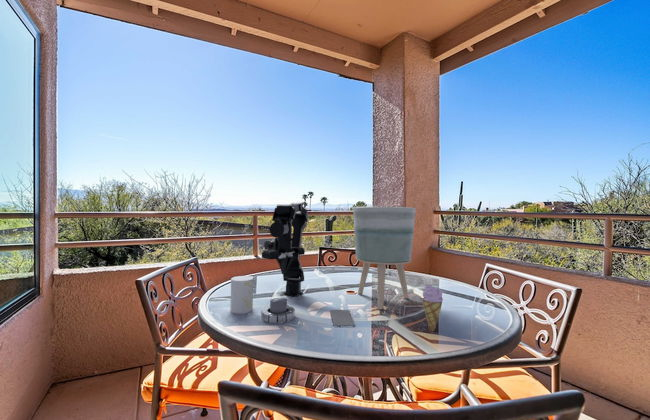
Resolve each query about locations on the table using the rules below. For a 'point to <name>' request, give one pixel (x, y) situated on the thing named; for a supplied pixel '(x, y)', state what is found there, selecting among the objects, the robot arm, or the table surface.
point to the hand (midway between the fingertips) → (283, 274)
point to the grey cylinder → (241, 294)
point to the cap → (278, 305)
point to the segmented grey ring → (277, 315)
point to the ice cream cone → (432, 305)
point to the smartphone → (341, 318)
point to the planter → (383, 242)
